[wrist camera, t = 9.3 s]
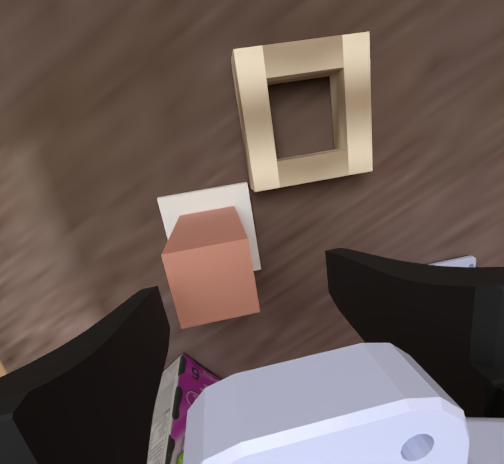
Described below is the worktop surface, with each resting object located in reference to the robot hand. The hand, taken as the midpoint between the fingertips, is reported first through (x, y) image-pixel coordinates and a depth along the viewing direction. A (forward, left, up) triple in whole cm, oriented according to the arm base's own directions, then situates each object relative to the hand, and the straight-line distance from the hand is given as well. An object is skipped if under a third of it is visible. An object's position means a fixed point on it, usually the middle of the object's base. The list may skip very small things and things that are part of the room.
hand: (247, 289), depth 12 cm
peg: (0, +2, -10) cm, 10 cm away
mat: (0, +2, -10) cm, 10 cm away
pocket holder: (+7, -6, -10) cm, 14 cm away
